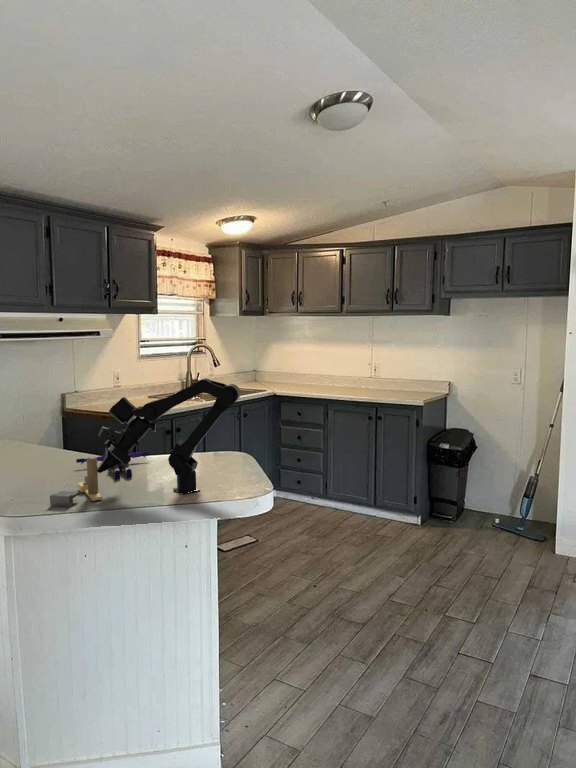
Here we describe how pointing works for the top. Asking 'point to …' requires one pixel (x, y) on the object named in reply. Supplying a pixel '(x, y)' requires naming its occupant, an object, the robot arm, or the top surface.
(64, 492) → the keeper
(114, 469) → the toy
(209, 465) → the top surface
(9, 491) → the top surface
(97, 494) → the link
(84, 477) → the peg
